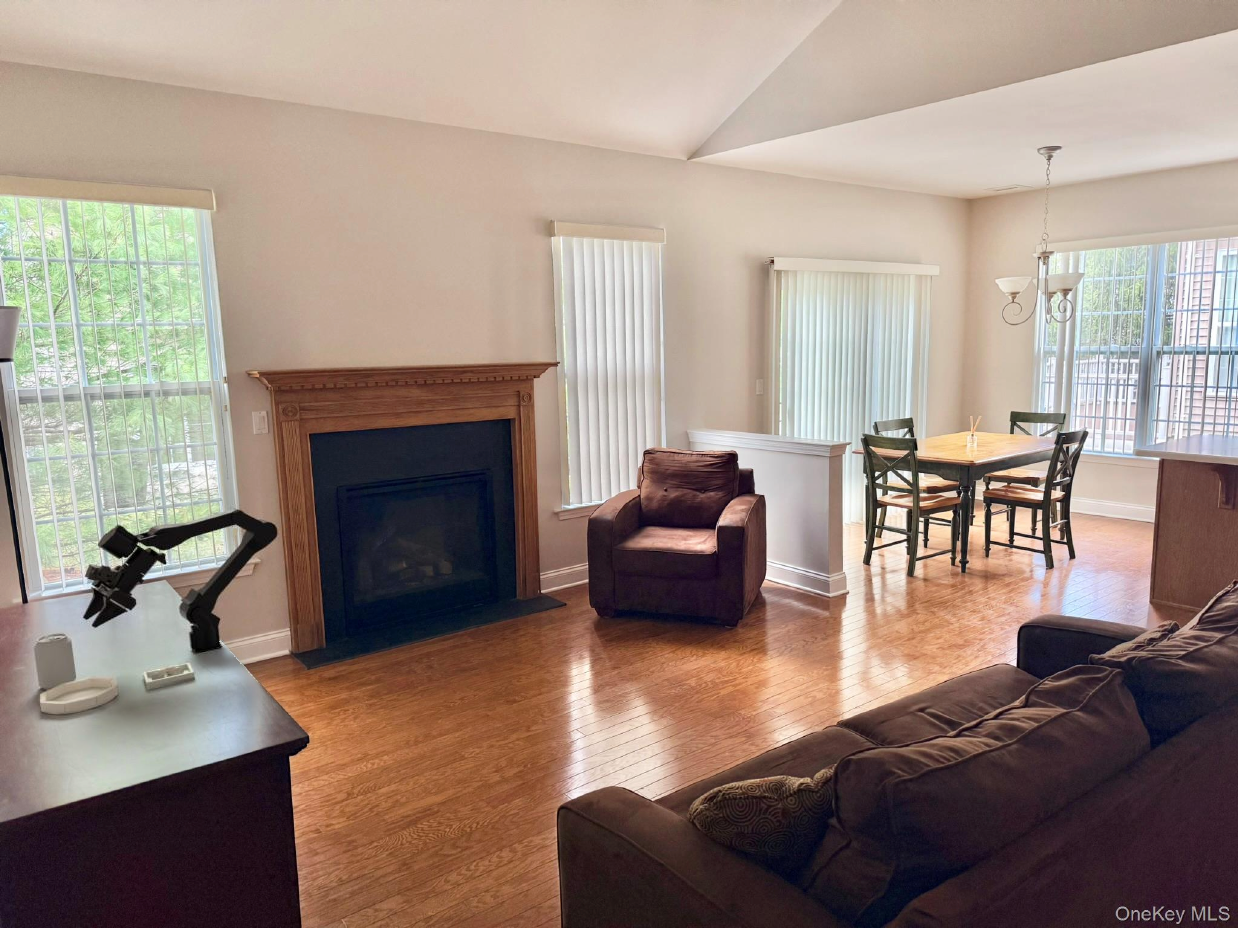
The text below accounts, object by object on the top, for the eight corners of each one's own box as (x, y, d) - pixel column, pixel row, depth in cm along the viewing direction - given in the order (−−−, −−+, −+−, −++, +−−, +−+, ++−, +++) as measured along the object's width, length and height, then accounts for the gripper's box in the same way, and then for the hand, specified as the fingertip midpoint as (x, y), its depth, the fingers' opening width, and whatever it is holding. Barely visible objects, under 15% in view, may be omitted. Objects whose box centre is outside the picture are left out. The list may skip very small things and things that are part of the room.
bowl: (115, 682, 200) (114, 672, 200) (120, 702, 188) (118, 691, 188) (41, 698, 192) (40, 687, 191) (41, 720, 180) (40, 709, 179)
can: (58, 692, 196) (51, 642, 194) (31, 690, 197) (24, 641, 195) (84, 679, 203) (78, 631, 201) (58, 678, 204) (52, 630, 203)
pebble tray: (189, 669, 207) (189, 662, 206) (194, 679, 200) (193, 671, 200) (143, 679, 201) (142, 672, 201) (147, 689, 195) (146, 682, 194)
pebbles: (182, 670, 205) (181, 660, 204) (185, 676, 200) (184, 667, 200) (150, 677, 201) (148, 667, 200) (152, 684, 196) (151, 674, 196)
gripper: (96, 545, 211) (50, 598, 205) (115, 557, 198) (66, 613, 192) (135, 569, 218) (91, 621, 212) (155, 582, 204) (109, 637, 198)
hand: (88, 622), depth 203 cm, fingers open, 9 cm apart
